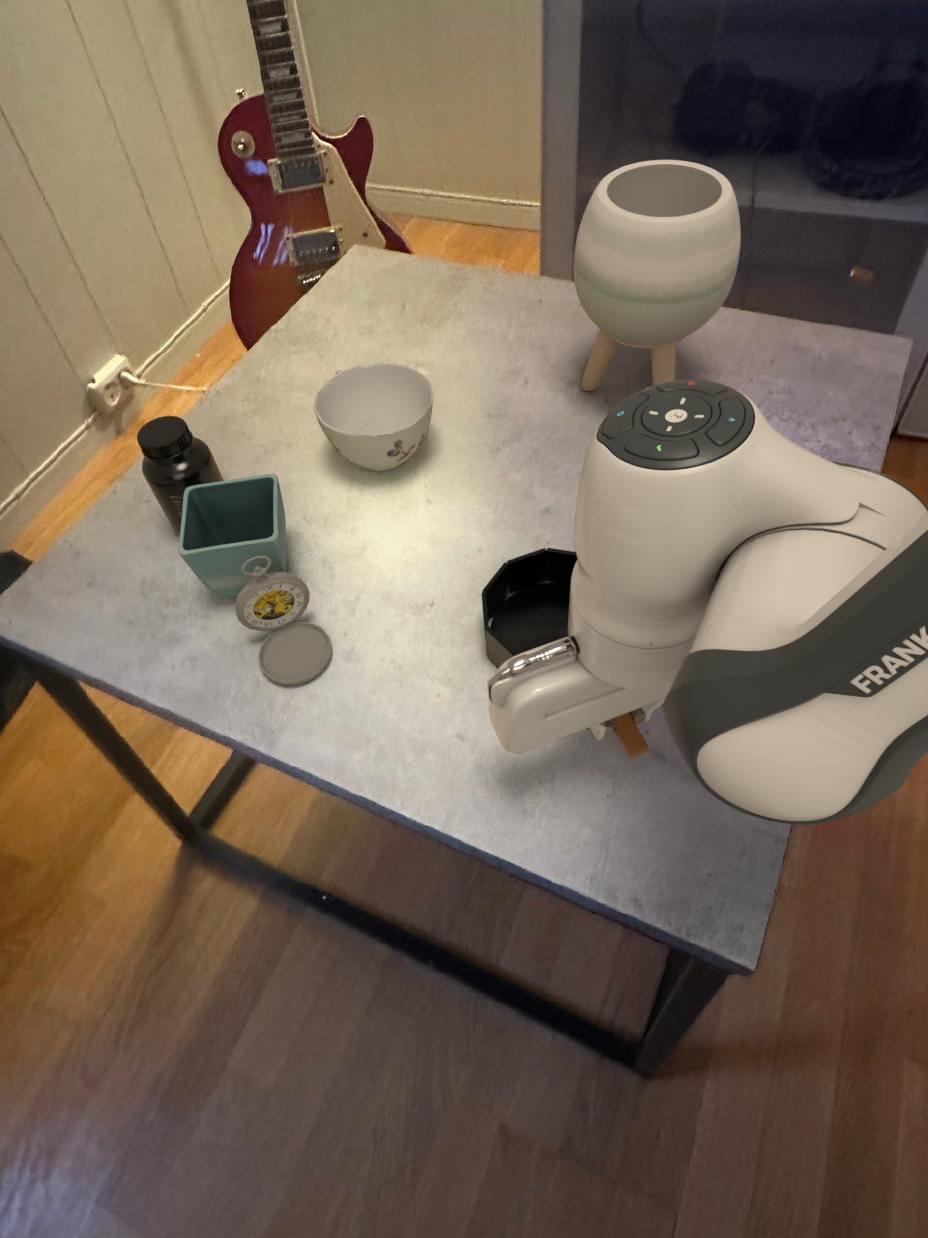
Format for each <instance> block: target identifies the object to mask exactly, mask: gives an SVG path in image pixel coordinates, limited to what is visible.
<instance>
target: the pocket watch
mask: <svg viewBox="0 0 928 1238" xmlns="http://www.w3.org/2000/svg"><path fill="white" fill-rule="evenodd" d="M260 558H263V559H266V560H267V561H268V565H267V566H266V568H260V567H259V566H257V567H255V571H254V572H253V573H247V572H246V571H245V570H244V569H245V566H246V565H247V564H248V563H249V562H250V561H252V560H254V559H260ZM270 565H271V559H270V558H269V557H267V556H256V557H253V558H251V559H249V560H247V561H246V562H245V563H244V564H243V566H242V567H241V571H242V573H243V574H244V575H247V576H253V577H256V579H254V580H252V581H251V582H249V583H248V584H247V585H246V586H245V587H244V588H243V589H242V590H241V591H240V593H239V594H238V596H236V599H235V604H234V605H235V606H234V608H235V615H236V618H237V620H238V621H239V623H240V624H241V625H242V626H244V627H246V628H247V629H249V630H253V631H258V632H265V631H266V632H267V631H272V632H271V633H269V634H268V636H266V637H265V639H264V640H263V642H262V643H261V646H260V648H259V650H258V658H257V659H258V665H259V667H260V671H262V673H263V674H264V676H265V677H266V678H268V680H269V681H272V682H275V683H277V684H279V685H286V686H295V685H300V684H303V683H306V682H309V681H310V680H312V679H314V678H316V677H317V676H319V674H321V673H322V672H323V671H324V670H325V668H326V667H327V666H328V664H329V662H330V660H331V656H332V651H333V650H332V649H333V648H332V641H331V639H330V637H329V634H328V633H327V632H326V631H325V629H323V628H322V627H321V626H320V625H317V624H315V623H314V622H313V623H312V622H308V621H296V620H297V619H298V618H299V617H301V616H302V615H303V613H304V612H305V611H306V610H307V608H308V605H309V602H310V597H311V592H310V589H309V587H308V585H307V584H306V583H305V581H304V580H303V579H302V578H300V577H299V576H298V575H295V574H293V573H291V572H287V571H286V572H274V573H269V574H266V571H267V569H268V568H269V567H270ZM289 596H290V598H288V597H289ZM267 608H268V609H269V610H267ZM266 610H267V611H266ZM295 621H296V622H295Z"/></svg>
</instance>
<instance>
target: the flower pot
mask: <svg viewBox="0 0 928 1238" xmlns="http://www.w3.org/2000/svg"><path fill="white" fill-rule="evenodd" d="M285 511H286V510H285V506H284V501H283V496H282V491H281V486H280V481H279V478H278V475H277V474H276V473H265V474H259V475H254V476H247V477H240V478H233V479H226V480H224V481H220V482H213V483H208V484H200V485H194V486H190V487H187V488H186V489H185V491H184V498H183V511H182V522H181V530H180V536H179V539H178V545H177V547H178V548H177V551H178V555H180V557H181V559H182V560H183V561H184V562H185V564H186V565H187V566H188V568H189V569H190V570H191V571H192V572H193V574H194V575H195V576H196V577H197V579H198V580H199V581H200V583H202V584H203V585H204V586H205V587H206V588H208V589H210V590H211V591H213V592H215V593H217V594H220V595H223V596H228V597H230V598H231V597H232V598H235V597H236V598H237V596H238V594H239V593H240V591H241V590H242V589H243V588H244V587H245V586H246V585H247V584H248V583H249V582H251V581H252V580H254V579H256V577H253V576H247V575H244V574H243V573H242V571H241V567H242V566H243V564H244V563H245V562H246V561H247V560H249V559H251V558H253V557H256V556H267V557H269V558H270V559H271V565H270V567H269V568H268V569H267V571H266V574H269V573H274V572H286V573H287V521H286V519H287V518H286V512H285ZM267 565H268V561H267V560H266V559H263V558H260V559H254V560H252V561H250V562H249V563H248V564H247V565H246V566H245V569H244V570H245V571H246V572H247V573H253V572H254V571H255V567H257V566H259V567H260V568H266V566H267Z"/></svg>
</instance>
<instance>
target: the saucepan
mask: <svg viewBox="0 0 928 1238" xmlns="http://www.w3.org/2000/svg"><path fill="white" fill-rule="evenodd" d="M577 559H578V558H577V555H576V551H572V550H565V549H559V548H552V547H547V548H546V547H543V548H541V549H537V550H535V551H532V552H528V553H526V554H522V555H519V556H517V557H513V558H511V559H508V560H506V562H505V561H504V562H503V564H502V565H501V566H500V567H499V569H498V570H497V571H496V573H495V574H494V575H493V576H492V577H491V578H490V580H489V581H488V582H487V583H486V585H485V586H484V587H483V588H482V592H481V604H482V617H483V631H484V640H485V653H486V654H485V655H486V656H487V659H488V660H489V661H491V663H492V664H493V665H495V666H496V667H497V668H498V669H499V667H500V666H501V665H502V664H503V663H504V662H505V661H507V660H508V659H510V658H512V657H514V656H516V655H518V654H520V653H523V652H526V651H529V650H531V649H534V648H537V647H540V646H543V645H545V644H548V643H551V642H554V641H556V640H559V639H562V638H565V637H568V616H569V603H570V586H571V577H572V572H573V568H574V566H575V563H576V561H577ZM490 620H491V622H490V624H489V621H490ZM489 625H490V626H489ZM613 719H614V721H615V723H616V725H617V726H616V729H615V734H614V735H615V736H616V737H617V739H618V741H619V743H620V745H621V746H622V748H623V750H624V752H625V753H626V755H627V757H628V759H629V760H632V759H635V758H637V757H640V756H642V755H645V754H649V752H650V745H649V743H648V742H647V740H646V738H645V737H644V735H643V734H642V731H641V730H640V728H639V727H638V725H636V723H635V722H634V720H633V718H632V717H631V715H630V713H629V712H628V713H626V714H623V715H620V716H618V717H615V718H613Z"/></svg>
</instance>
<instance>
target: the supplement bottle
mask: <svg viewBox="0 0 928 1238" xmlns="http://www.w3.org/2000/svg"><path fill="white" fill-rule="evenodd" d="M136 441H137V444H138V446H139V448H140V450H141V453H142V455H143V459H142V462H141V472H142V475H143V477H144V479H145V481H146V482H147V484H148V486H149V488H150V490H151V491H152V494H153V495H154V497H155V499H156V500H157V503H158V504H159V506H160V508H161V509H162V511H163V513H164V515H165V516H166V518H167V521H168V522H169V524H170V525H171V527H172V529H173V530H174V533H176V535H178V536H179V537H180V530H181V522H182V511H183V498H184V491H185V489H186V488H187V487H190V486H194V485H200V484H208V483H213V482H220V481H225V479H224V477H223V474H222V472H221V470H220V469H219V466H218V464H217V462H216V460H215V457H214V454H213V452H212V451H211V449H210V447H209V446H208V445H207V443H205V442H204V441H203V440H201V439H200V438H197V437H195V436H194V435H193V433H192V431H191V430H190V428H189V426H188V423H187V422H186V421H185V420H184V419H183V418H181V417H179V416H177V415H163V416H158V417H156V418H153V419H151V420H149V421H148V422H146V423H145V424H144V425H142V426H141V428H139V429H138V432H137V434H136Z"/></svg>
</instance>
